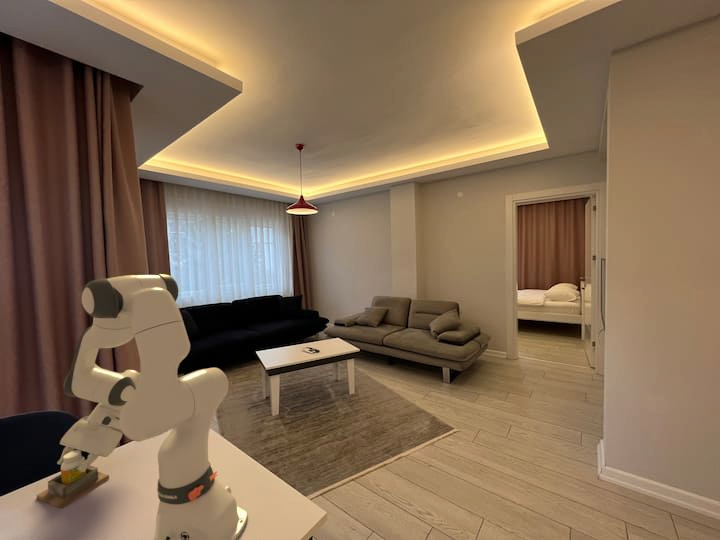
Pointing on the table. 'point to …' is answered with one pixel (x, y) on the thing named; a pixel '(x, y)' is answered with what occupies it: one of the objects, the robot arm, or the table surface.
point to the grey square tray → (71, 488)
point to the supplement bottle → (71, 467)
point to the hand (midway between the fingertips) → (70, 467)
